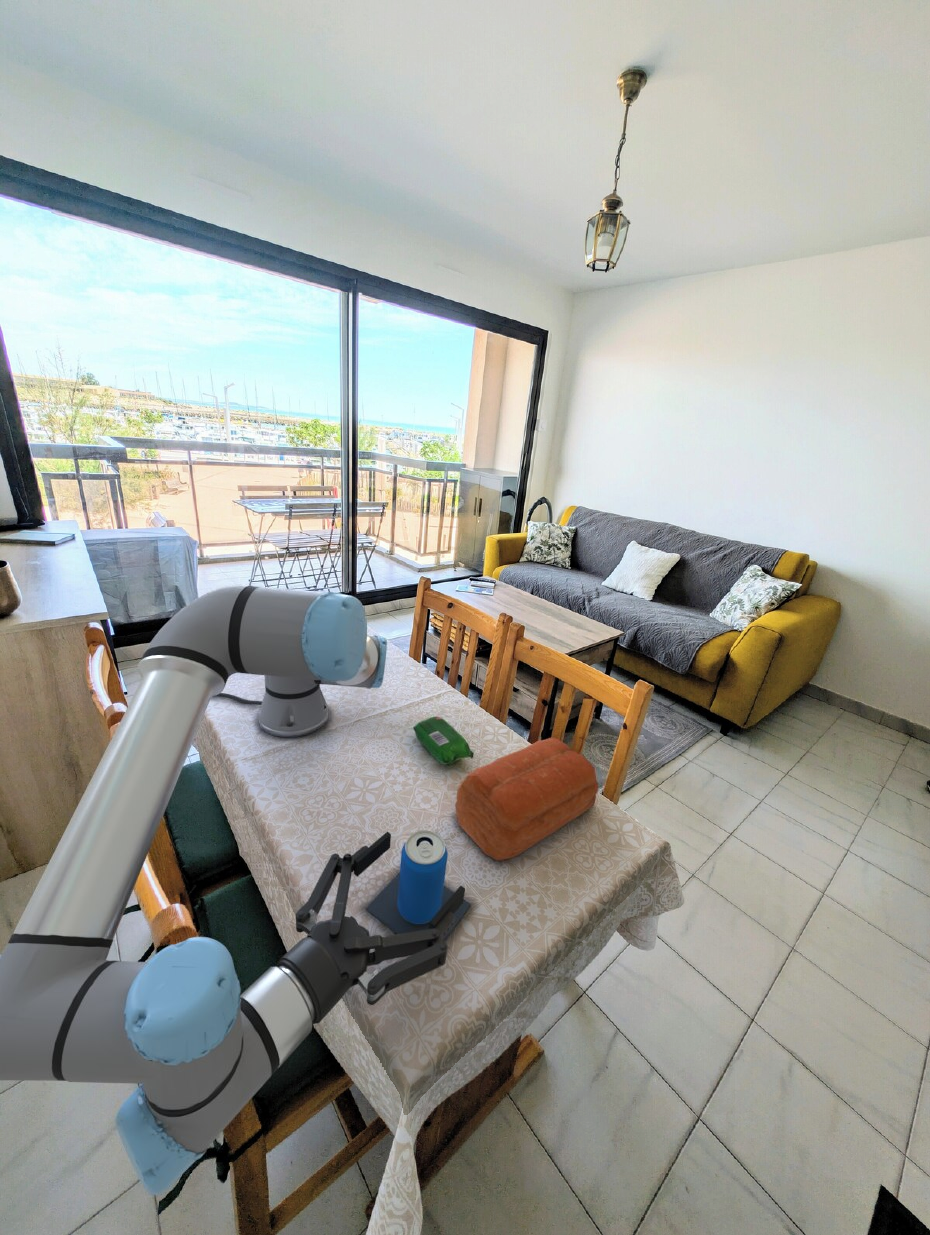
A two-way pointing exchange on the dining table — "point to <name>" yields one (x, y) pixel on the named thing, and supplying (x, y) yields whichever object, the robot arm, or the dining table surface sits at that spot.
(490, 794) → the bread
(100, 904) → the robot arm
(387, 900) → the slate mat
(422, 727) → the snack package
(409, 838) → the beverage can
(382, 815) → the dining table surface
